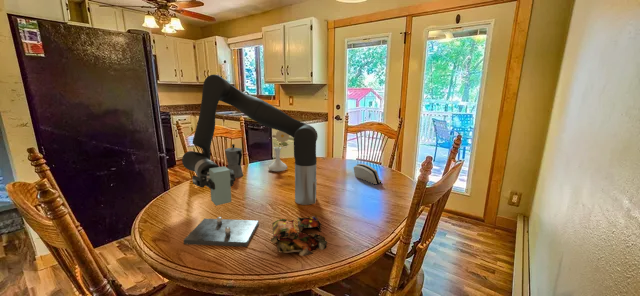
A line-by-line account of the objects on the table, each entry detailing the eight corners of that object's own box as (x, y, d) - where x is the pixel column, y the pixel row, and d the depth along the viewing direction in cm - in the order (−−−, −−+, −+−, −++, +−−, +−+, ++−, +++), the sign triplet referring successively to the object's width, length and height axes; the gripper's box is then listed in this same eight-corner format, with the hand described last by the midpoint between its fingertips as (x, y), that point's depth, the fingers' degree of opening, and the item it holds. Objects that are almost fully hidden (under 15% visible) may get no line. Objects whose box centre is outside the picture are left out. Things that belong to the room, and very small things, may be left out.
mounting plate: (258, 224, 96) (258, 214, 96) (246, 246, 83) (246, 235, 82) (204, 222, 97) (203, 212, 96) (184, 244, 84) (182, 232, 83)
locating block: (226, 196, 91) (224, 166, 88) (231, 202, 87) (229, 170, 85) (211, 200, 88) (209, 168, 85) (215, 205, 84) (213, 172, 82)
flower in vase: (265, 172, 156) (264, 130, 150) (272, 166, 167) (271, 127, 161) (287, 173, 154) (286, 131, 148) (292, 168, 164) (292, 128, 159)
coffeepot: (221, 174, 150) (219, 143, 146) (237, 171, 157) (235, 141, 153) (234, 181, 140) (232, 148, 136) (250, 177, 146) (248, 145, 142)
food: (333, 254, 81) (333, 243, 80) (270, 262, 77) (270, 251, 76) (318, 219, 102) (318, 211, 101) (268, 225, 98) (268, 216, 97)
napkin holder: (382, 183, 141) (379, 167, 137) (376, 187, 139) (372, 171, 135) (361, 174, 154) (357, 159, 151) (355, 178, 152) (351, 163, 148)
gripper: (185, 164, 92) (197, 177, 79) (226, 158, 100) (244, 169, 87) (187, 184, 94) (199, 201, 80) (227, 177, 102) (245, 191, 89)
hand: (222, 184), depth 84 cm, fingers closed on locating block, 5 cm apart
